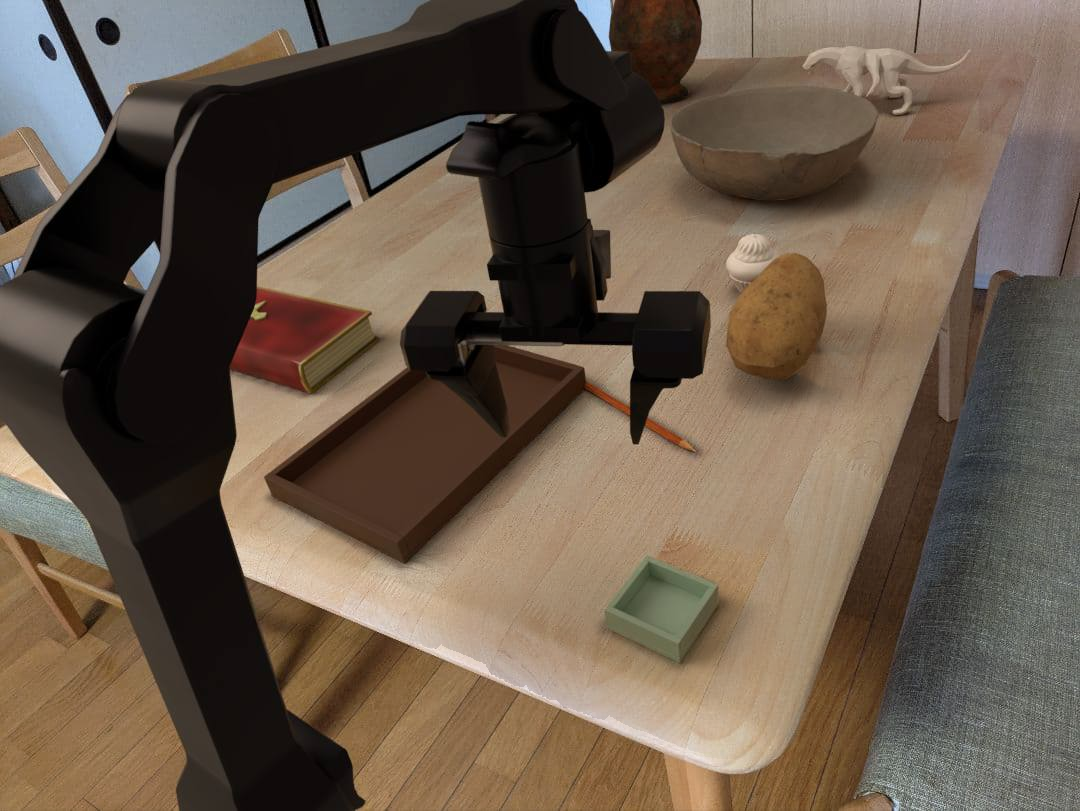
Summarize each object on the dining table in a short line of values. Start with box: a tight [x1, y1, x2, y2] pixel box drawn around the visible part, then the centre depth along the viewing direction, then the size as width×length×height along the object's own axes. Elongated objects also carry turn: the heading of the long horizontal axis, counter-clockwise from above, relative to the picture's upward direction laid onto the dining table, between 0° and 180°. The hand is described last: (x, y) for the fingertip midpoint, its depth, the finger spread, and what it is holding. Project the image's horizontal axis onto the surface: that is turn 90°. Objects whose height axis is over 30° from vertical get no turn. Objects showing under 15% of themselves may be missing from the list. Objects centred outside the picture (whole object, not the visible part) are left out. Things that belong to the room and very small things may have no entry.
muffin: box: [725, 233, 781, 294], centre depth 95 cm, size 6×6×7 cm
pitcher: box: [608, 0, 703, 105], centre depth 149 cm, size 17×21×30 cm
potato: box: [725, 252, 828, 380], centre depth 83 cm, size 9×16×9 cm, turn 149°
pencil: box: [584, 380, 697, 453], centre depth 82 cm, size 1×18×1 cm, turn 37°
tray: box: [263, 345, 587, 564], centre depth 82 cm, size 28×18×2 cm, turn 144°
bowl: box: [669, 85, 879, 201], centre depth 118 cm, size 28×28×10 cm
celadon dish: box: [604, 554, 720, 664], centre depth 61 cm, size 6×6×2 cm
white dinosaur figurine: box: [802, 45, 972, 116], centre depth 135 cm, size 12×25×10 cm, turn 76°
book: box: [230, 285, 381, 394], centre depth 100 cm, size 12×21×4 cm, turn 58°
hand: (569, 436), depth 57 cm, fingers open, 9 cm apart
